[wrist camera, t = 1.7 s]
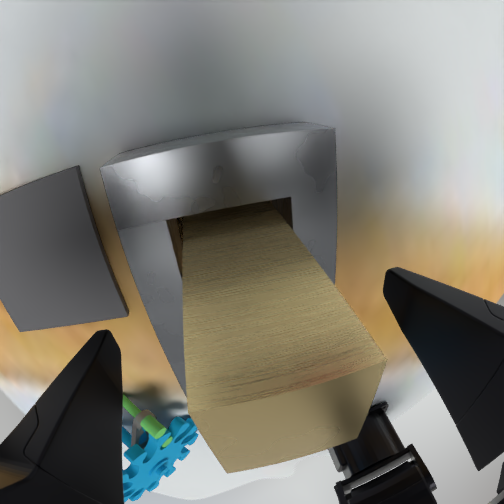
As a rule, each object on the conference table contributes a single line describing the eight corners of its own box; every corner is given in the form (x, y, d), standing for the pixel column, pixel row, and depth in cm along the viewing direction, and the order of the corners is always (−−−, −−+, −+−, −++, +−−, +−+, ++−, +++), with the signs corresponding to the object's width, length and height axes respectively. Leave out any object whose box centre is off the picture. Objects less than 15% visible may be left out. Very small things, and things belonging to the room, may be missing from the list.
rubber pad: (78, 165, 11) (75, 167, 10) (128, 311, 15) (128, 316, 14) (-34, 211, 10) (-37, 214, 10) (22, 327, 14) (19, 332, 13)
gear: (192, 466, 22) (119, 521, 14) (148, 430, 25) (73, 473, 16) (220, 397, 20) (114, 471, 11) (161, 353, 22) (54, 399, 13)
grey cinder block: (304, 122, 12) (334, 128, 9) (309, 366, 20) (323, 398, 17) (119, 153, 11) (99, 167, 8) (198, 391, 19) (202, 426, 16)
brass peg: (259, 188, 13) (386, 359, 4) (266, 254, 15) (357, 438, 6) (184, 202, 13) (188, 412, 4) (198, 268, 14) (227, 473, 6)
